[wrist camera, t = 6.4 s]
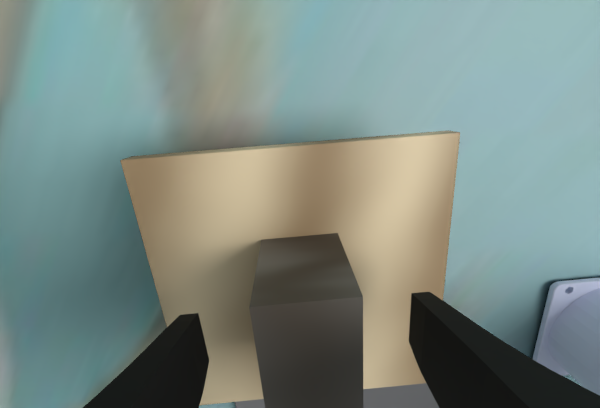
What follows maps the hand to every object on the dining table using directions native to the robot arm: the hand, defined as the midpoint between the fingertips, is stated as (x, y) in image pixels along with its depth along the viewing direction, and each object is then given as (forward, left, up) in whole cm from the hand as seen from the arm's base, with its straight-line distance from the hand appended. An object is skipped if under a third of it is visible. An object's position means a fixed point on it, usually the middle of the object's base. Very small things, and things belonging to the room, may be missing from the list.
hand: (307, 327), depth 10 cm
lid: (0, 0, -3) cm, 3 cm away
